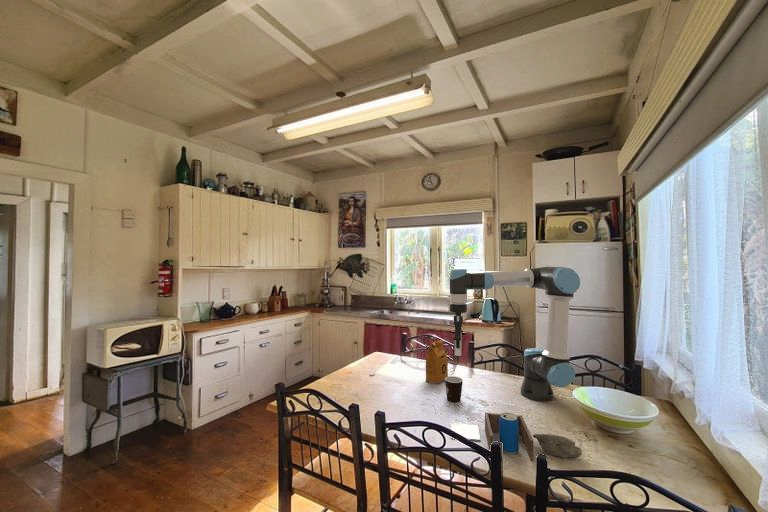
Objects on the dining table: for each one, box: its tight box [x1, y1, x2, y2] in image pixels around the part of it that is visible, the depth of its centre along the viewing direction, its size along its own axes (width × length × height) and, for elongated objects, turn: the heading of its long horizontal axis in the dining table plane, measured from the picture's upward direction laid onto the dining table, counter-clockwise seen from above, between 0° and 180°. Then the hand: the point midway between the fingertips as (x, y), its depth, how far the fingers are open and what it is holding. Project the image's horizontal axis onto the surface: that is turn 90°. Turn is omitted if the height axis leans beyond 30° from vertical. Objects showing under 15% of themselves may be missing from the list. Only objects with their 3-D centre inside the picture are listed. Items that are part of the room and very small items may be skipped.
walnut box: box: [484, 411, 534, 462], centre depth 121 cm, size 14×18×7 cm
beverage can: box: [498, 412, 520, 455], centre depth 118 cm, size 6×6×12 cm
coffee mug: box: [444, 375, 464, 404], centre depth 161 cm, size 12×9×10 cm
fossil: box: [532, 433, 583, 459], centre depth 116 cm, size 14×10×10 cm
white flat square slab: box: [450, 422, 481, 442], centre depth 130 cm, size 11×11×1 cm
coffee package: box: [425, 339, 449, 384], centre depth 185 cm, size 10×12×22 cm
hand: (458, 351), depth 146 cm, fingers open, 13 cm apart
